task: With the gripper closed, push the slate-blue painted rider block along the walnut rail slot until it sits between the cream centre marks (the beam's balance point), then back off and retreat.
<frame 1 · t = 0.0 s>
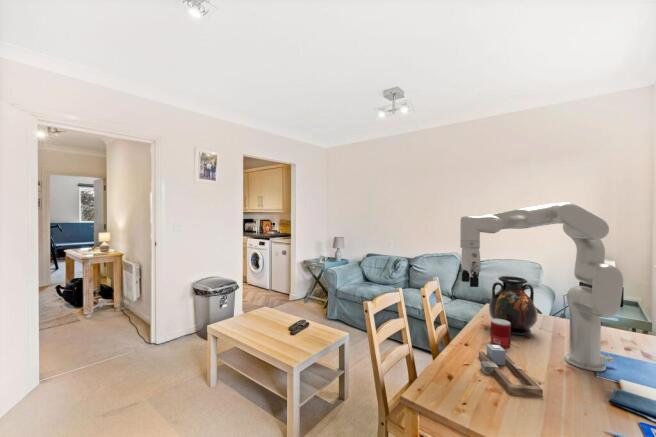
hand: (469, 284, 121), 31 cm above the table, fingers open, 9 cm apart
amphora vase: (512, 331, 148), on the table
beam slot: (505, 373, 108), on the table
canned food: (500, 345, 132), on the table
rider: (495, 354, 116), point 3 cm above the table, slide at -8.0 cm
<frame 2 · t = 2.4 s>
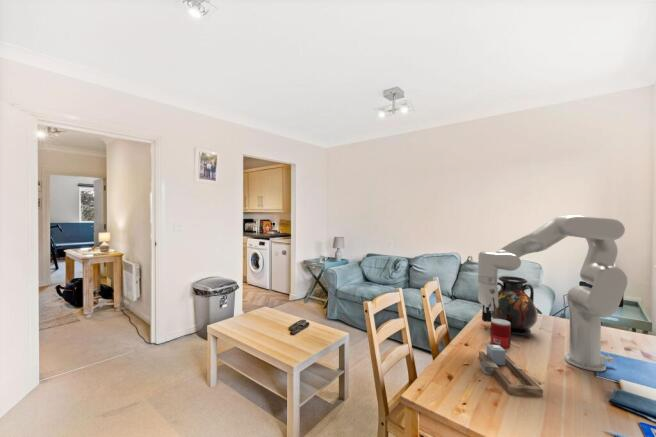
hand: (486, 321, 124), 14 cm above the table, fingers closed
nothing on the table moved.
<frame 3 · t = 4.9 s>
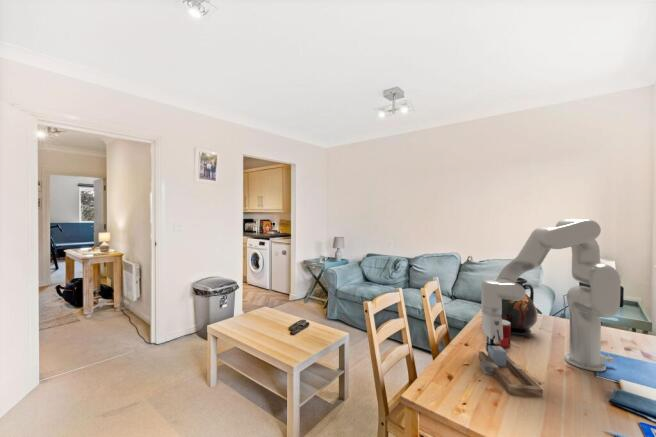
hand: (491, 352, 120), 2 cm above the table, fingers closed
rider: (496, 355, 115), point 3 cm above the table, slide at -7.2 cm, touching gripper
everything else where it was.
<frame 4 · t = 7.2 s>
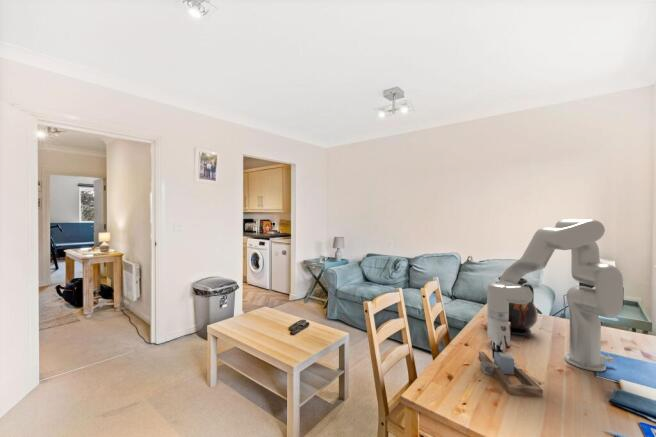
hand: (497, 359, 114), 2 cm above the table, fingers closed
rider: (503, 362, 109), point 3 cm above the table, slide at -1.4 cm, touching gripper
everything else where it was.
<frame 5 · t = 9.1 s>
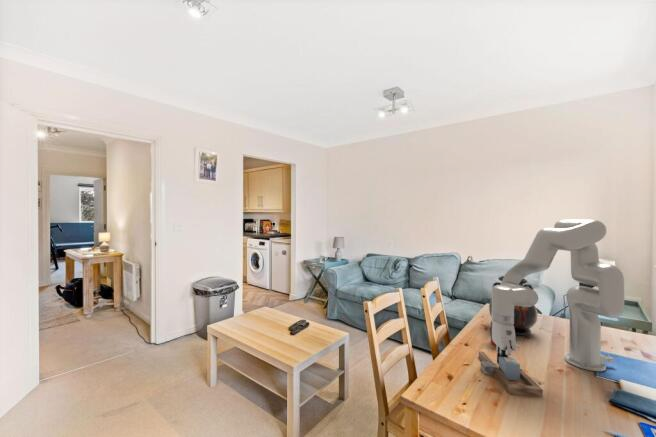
hand: (502, 364, 110), 2 cm above the table, fingers closed
rider: (509, 367, 105), point 3 cm above the table, slide at 2.6 cm, touching gripper
everything else where it was.
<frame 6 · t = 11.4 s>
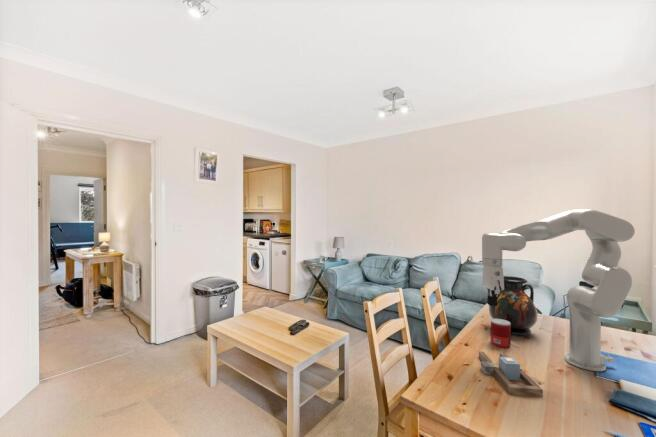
hand: (492, 305, 119), 23 cm above the table, fingers closed
rider: (509, 367, 105), point 3 cm above the table, slide at 2.6 cm
everything else where it was.
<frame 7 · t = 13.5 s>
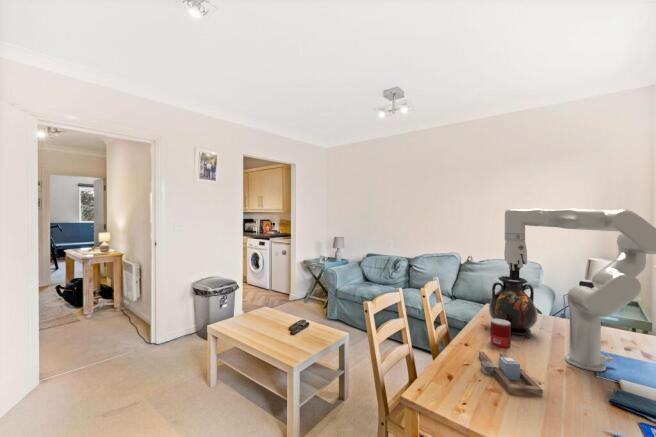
hand: (514, 279, 122), 33 cm above the table, fingers closed
nothing on the table moved.
at the end: rider slide at 2.6 cm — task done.
